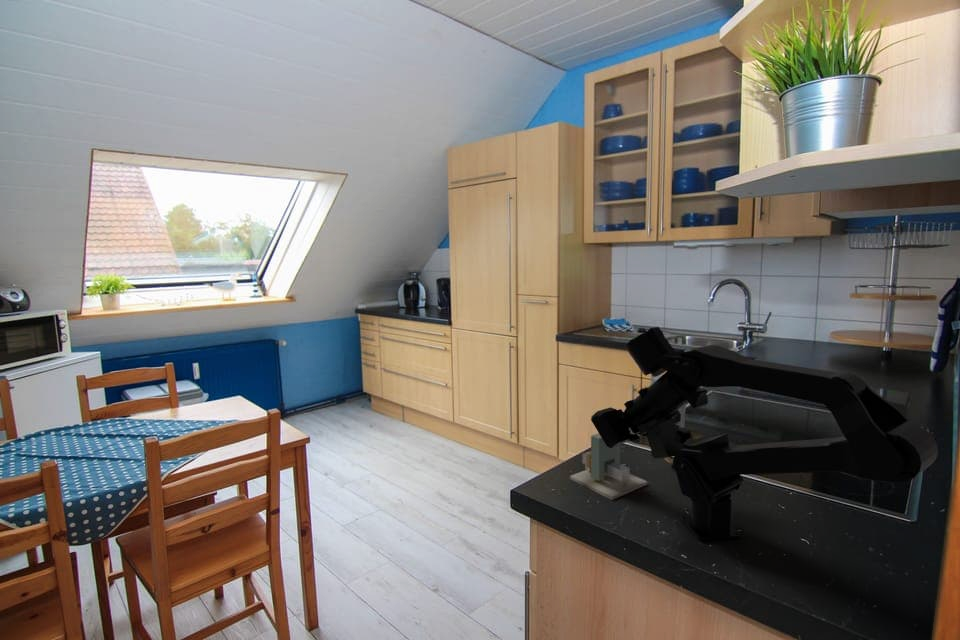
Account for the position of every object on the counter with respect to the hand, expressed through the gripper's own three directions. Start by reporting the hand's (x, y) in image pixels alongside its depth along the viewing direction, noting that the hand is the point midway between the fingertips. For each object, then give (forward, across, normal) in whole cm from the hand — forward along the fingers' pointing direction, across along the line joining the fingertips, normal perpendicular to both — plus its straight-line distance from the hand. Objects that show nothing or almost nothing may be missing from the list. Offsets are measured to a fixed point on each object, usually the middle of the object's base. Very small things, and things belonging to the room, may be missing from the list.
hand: (611, 440), depth 94 cm
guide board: (+6, 0, -6) cm, 9 cm away
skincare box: (+11, +27, -1) cm, 29 cm away
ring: (+4, +17, -8) cm, 19 cm away
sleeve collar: (+6, 0, -4) cm, 8 cm away
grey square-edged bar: (+7, 0, -5) cm, 8 cm away
